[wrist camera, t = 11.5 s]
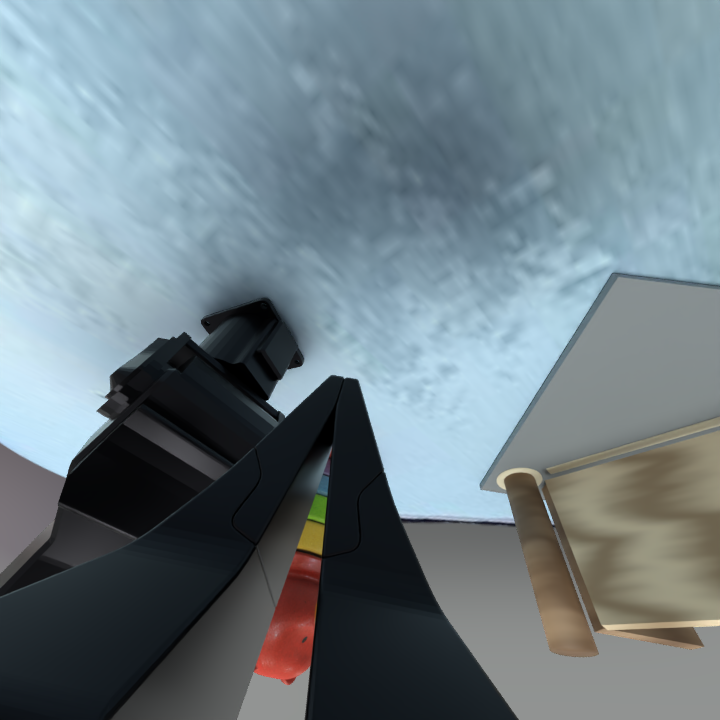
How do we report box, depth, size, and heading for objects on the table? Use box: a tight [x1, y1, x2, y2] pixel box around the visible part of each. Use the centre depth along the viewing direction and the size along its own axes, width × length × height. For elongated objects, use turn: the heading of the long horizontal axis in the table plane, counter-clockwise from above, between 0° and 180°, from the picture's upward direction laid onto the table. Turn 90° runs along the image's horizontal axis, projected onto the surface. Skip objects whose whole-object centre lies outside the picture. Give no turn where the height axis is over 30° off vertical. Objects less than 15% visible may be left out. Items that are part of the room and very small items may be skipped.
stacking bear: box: [254, 449, 332, 685], centre depth 28 cm, size 11×10×18 cm
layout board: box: [480, 273, 720, 500], centre depth 25 cm, size 18×25×1 cm
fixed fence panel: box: [504, 472, 704, 657], centre depth 26 cm, size 11×3×13 cm, turn 85°
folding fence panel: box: [545, 430, 720, 630], centre depth 21 cm, size 16×1×11 cm, turn 134°
